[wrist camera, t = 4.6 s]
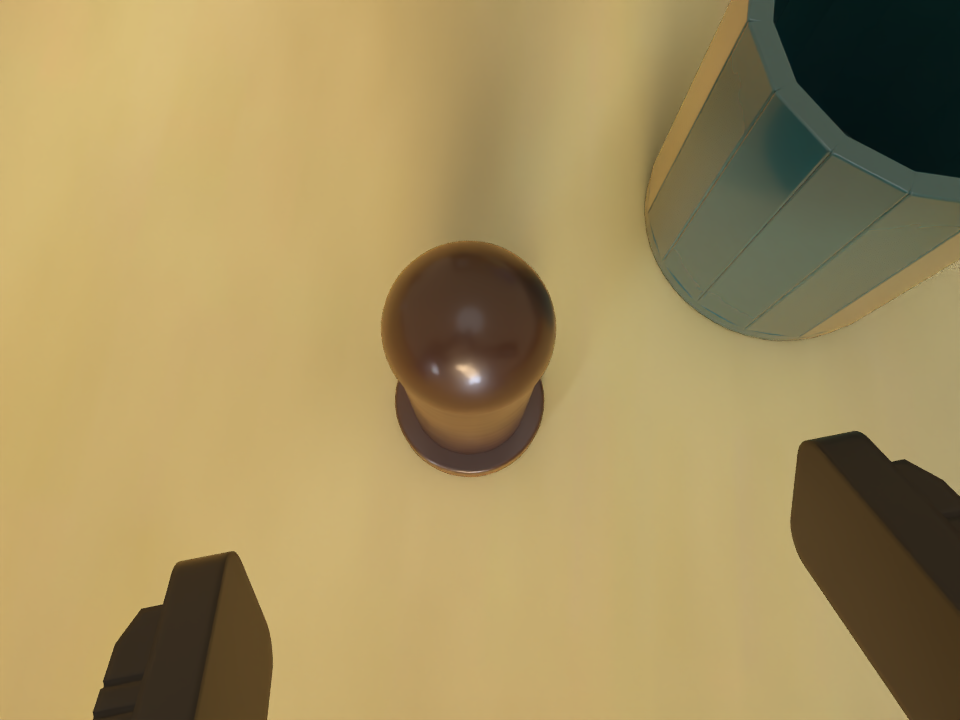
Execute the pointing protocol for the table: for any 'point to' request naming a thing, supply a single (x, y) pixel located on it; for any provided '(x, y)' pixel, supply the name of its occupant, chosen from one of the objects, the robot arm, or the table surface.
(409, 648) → the table surface
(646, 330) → the table surface
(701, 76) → the cup
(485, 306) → the game pawn
